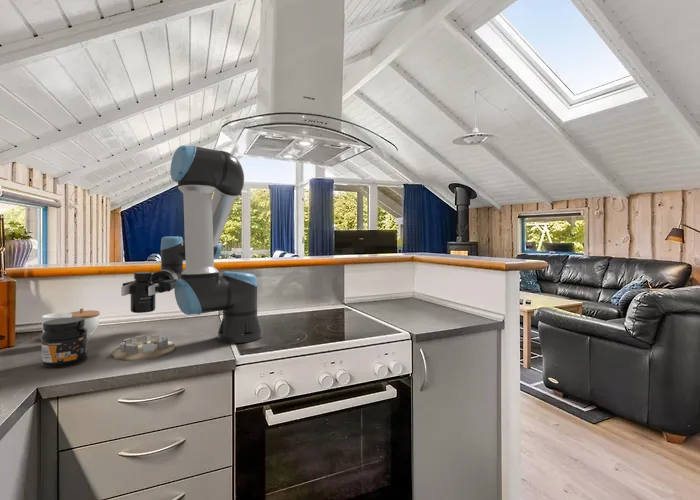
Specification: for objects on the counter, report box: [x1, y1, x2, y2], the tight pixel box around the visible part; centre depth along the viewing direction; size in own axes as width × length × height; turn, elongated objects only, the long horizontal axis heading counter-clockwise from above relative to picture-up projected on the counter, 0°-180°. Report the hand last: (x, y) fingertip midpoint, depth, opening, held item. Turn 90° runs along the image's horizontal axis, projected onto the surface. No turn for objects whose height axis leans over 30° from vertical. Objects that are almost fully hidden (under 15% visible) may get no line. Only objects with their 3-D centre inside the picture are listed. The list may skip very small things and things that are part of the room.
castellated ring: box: [119, 334, 169, 355], centre depth 118 cm, size 13×13×2 cm
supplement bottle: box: [129, 271, 156, 314], centre depth 117 cm, size 7×7×12 cm
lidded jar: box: [70, 308, 101, 336], centre depth 137 cm, size 11×11×9 cm
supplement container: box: [40, 317, 89, 369], centre depth 107 cm, size 10×10×12 cm
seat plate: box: [112, 340, 176, 361], centre depth 118 cm, size 17×17×1 cm
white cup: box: [41, 312, 72, 333], centre depth 123 cm, size 8×8×10 cm
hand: (136, 291), depth 112 cm, fingers closed on supplement bottle, 7 cm apart
